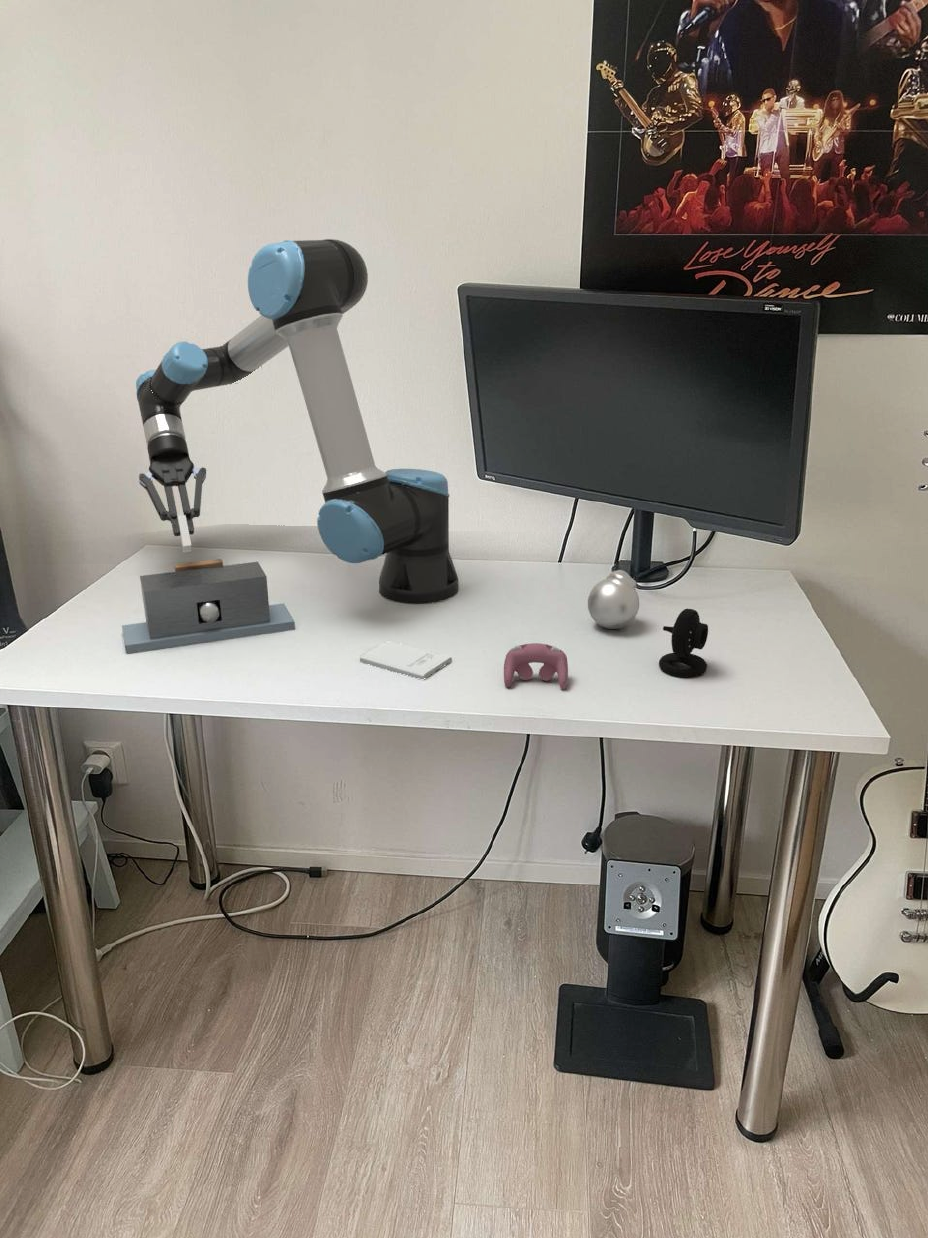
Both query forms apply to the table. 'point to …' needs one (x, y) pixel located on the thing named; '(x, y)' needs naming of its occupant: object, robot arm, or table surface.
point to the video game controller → (536, 653)
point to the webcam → (686, 645)
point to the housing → (179, 593)
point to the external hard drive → (405, 659)
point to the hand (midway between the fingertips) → (187, 548)
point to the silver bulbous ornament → (614, 601)
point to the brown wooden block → (209, 607)
